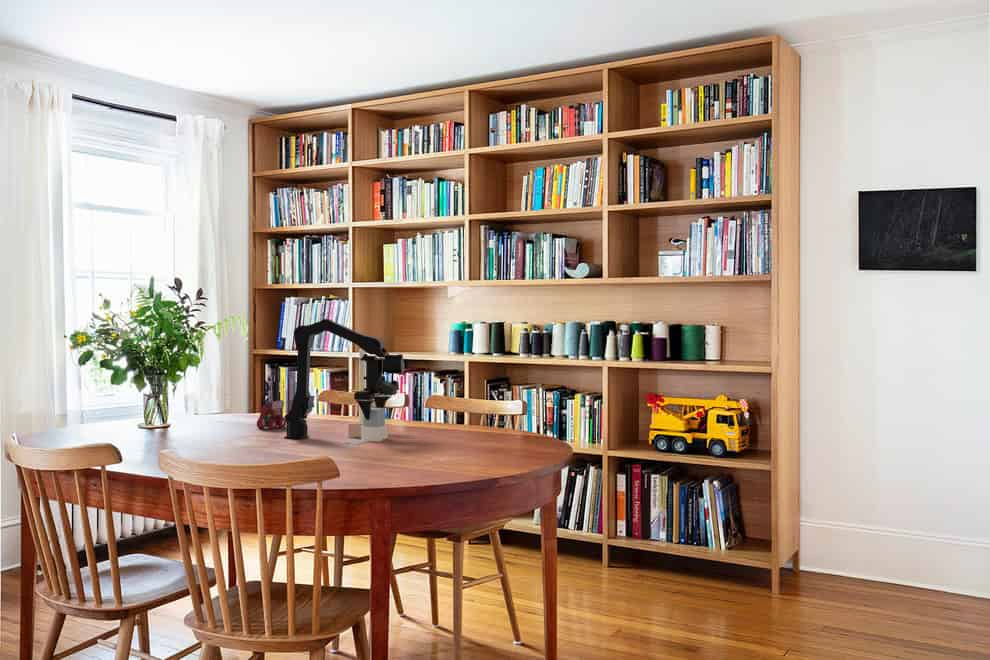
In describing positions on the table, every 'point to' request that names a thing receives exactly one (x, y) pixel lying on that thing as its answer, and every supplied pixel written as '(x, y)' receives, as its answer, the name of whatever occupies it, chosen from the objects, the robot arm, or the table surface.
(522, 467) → the table surface
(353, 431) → the terracotta block
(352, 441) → the tile
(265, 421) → the toy fire truck
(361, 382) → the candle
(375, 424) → the grey block
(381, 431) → the cream block
